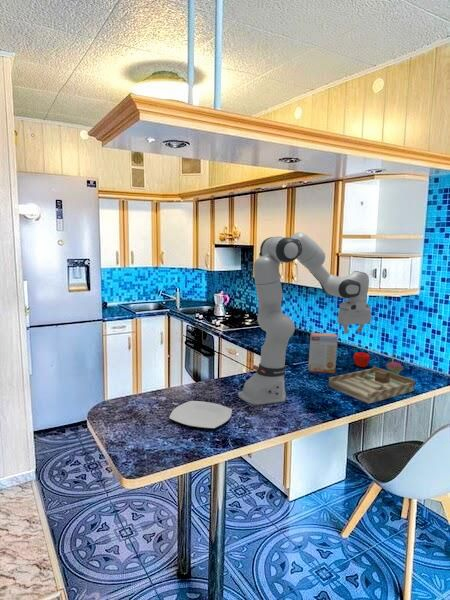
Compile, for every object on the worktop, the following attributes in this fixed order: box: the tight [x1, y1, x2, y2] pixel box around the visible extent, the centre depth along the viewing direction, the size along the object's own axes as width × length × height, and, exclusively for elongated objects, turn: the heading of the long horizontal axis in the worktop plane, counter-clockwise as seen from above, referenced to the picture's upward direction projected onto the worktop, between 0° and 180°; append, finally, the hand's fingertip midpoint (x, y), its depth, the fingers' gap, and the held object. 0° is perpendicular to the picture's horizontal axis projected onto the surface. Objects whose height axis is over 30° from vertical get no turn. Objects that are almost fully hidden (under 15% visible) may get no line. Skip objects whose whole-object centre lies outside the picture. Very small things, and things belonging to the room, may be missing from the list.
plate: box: [168, 400, 233, 430], centre depth 166 cm, size 23×23×2 cm
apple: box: [352, 352, 371, 368], centre depth 242 cm, size 9×9×8 cm
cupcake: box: [385, 353, 404, 375], centre depth 229 cm, size 9×8×12 cm
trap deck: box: [327, 365, 416, 405], centre depth 206 cm, size 34×24×6 cm
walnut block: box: [375, 369, 390, 384], centre depth 210 cm, size 5×5×5 cm
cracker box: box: [307, 332, 339, 374], centre depth 229 cm, size 14×6×21 cm, turn 84°
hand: (352, 332), depth 205 cm, fingers open, 8 cm apart
